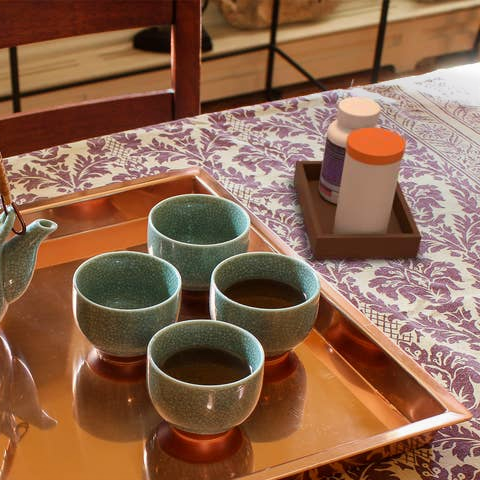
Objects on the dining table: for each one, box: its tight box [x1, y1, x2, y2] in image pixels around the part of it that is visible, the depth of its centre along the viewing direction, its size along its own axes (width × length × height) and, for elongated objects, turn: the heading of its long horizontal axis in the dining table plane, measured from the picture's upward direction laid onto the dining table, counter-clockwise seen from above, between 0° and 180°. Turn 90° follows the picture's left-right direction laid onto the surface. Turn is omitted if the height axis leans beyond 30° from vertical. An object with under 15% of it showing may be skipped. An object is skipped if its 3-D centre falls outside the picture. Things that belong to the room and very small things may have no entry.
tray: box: [293, 160, 422, 261], centre depth 93 cm, size 14×10×2 cm
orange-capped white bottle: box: [333, 127, 407, 234], centre depth 88 cm, size 5×5×10 cm
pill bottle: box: [319, 96, 381, 204], centre depth 93 cm, size 5×5×10 cm
